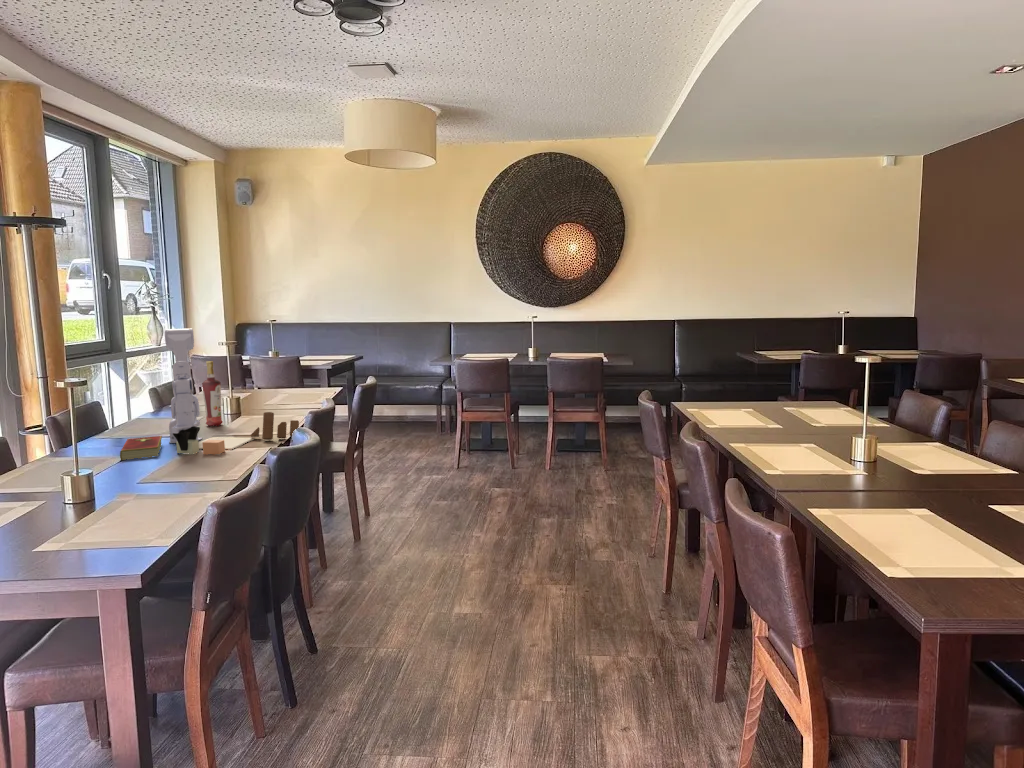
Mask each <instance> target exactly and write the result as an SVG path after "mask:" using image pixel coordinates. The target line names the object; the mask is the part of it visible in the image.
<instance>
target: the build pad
mask: <svg viewBox="0 0 1024 768" xmlns="http://www.w3.org/2000/svg"><path fill="white" fill-rule="evenodd" d="M207 440H224V444H225V449H228V450H227V451H233V450H235V449H237V448H239V447H242V446H243V444H244V445H246V444H248V443H249V442H252V441H255V440H256V437H237V436H236V437H235V436H234V437H232V436H231V437H228V436H227V437H226V436H225V437H224V436H223V437H222V436H218V437H217V436H213V437H209V438H207V439H204V440H200V441H198V444H199V449H203V443H202V442H205V441H207ZM247 442H248V443H247ZM245 443H246V444H245ZM234 448H235V449H234ZM232 449H233V450H232Z"/></svg>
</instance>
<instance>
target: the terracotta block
mask: <svg viewBox="0 0 1024 768" xmlns="http://www.w3.org/2000/svg"><path fill="white" fill-rule="evenodd" d="M202 443H203V450H202V453H203V455H208V454H220V453H222V452H224V453H226V450H225V444H224V440H207V441H205V442H202ZM222 454H223V453H222ZM220 455H221V454H220Z"/></svg>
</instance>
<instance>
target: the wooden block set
mask: <svg viewBox="0 0 1024 768" xmlns="http://www.w3.org/2000/svg"><path fill="white" fill-rule="evenodd" d="M274 417H275V413H274V412H272V411H266V412H263V417H262V432H261V433H262V437H261V438H262V440H264V441H265V440H266V441H269V440H270V441H271V440H273V439H274V437H273V436H274V422H275V420H274ZM289 423H290V427H289V437H291V436H292V433H293V431H294V430H295V429H297V428H298V427H299V428H300V421H299V420H296V419H295V420H293V419H292V420H290V421H289ZM287 425H288V423H287V422H286V421H282V422H280V423H279V424H277V434H276V435H277V436H276V438H277V439H287V427H288V426H287ZM249 437H250V438H258V437H260V427H257V428H256V429H255V430H254V431H253V432H251V434H250V435H249Z"/></svg>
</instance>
